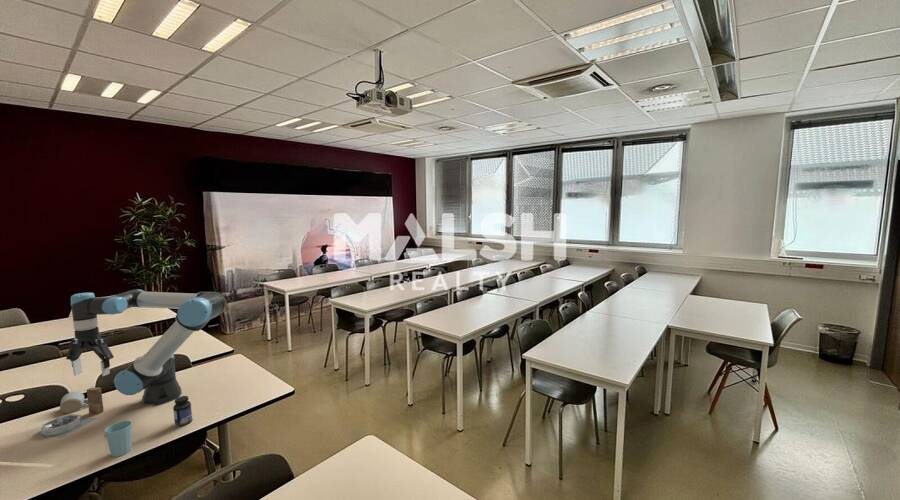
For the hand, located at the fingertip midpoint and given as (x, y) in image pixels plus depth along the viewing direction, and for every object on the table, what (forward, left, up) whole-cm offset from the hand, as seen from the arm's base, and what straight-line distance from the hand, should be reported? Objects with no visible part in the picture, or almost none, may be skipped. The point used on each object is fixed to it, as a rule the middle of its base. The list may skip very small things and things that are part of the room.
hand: (92, 374), depth 162 cm
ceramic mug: (+13, -3, -19) cm, 23 cm away
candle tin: (+2, +12, -18) cm, 22 cm away
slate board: (+1, +11, -19) cm, 22 cm away
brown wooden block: (0, 0, -19) cm, 19 cm away
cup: (-37, +24, -19) cm, 48 cm away
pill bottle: (-45, +4, -19) cm, 49 cm away
